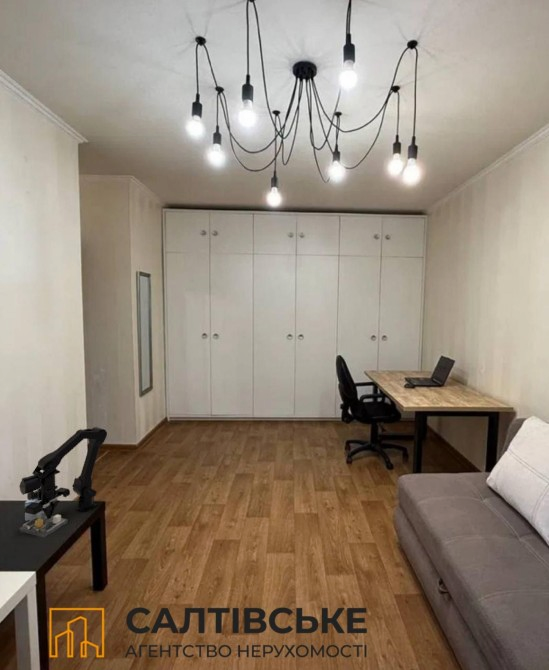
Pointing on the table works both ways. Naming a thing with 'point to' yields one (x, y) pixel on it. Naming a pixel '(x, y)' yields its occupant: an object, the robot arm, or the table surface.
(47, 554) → the table surface
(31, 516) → the medicine box
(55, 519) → the slider cream
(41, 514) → the slider blue
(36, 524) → the slider amber
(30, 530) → the panel
